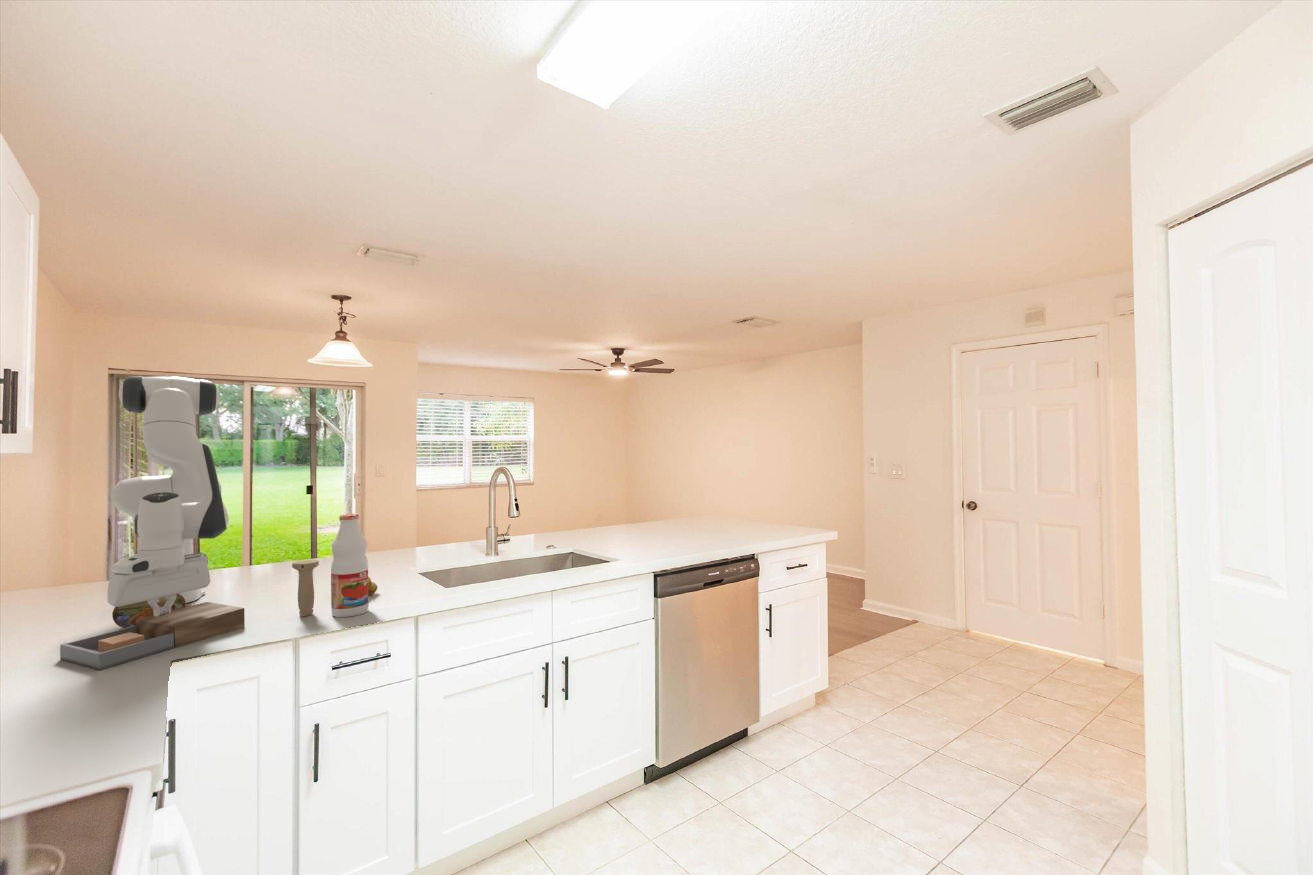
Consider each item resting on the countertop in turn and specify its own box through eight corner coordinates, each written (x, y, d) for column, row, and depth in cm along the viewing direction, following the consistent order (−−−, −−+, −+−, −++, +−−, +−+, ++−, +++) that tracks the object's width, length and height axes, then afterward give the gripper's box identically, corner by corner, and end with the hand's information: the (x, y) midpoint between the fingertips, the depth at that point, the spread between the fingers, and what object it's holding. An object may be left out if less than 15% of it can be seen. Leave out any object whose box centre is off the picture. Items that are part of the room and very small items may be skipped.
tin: (112, 631, 151) (111, 599, 151) (116, 627, 154) (116, 596, 154) (184, 622, 158) (184, 591, 158) (187, 618, 161) (187, 588, 161)
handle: (315, 616, 161) (315, 563, 161) (290, 618, 160) (289, 564, 160) (321, 611, 166) (321, 559, 166) (296, 613, 165) (296, 560, 164)
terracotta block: (129, 632, 139) (130, 644, 139) (98, 640, 133) (98, 653, 134) (144, 635, 137) (144, 647, 137) (112, 643, 131) (112, 656, 131)
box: (60, 659, 131) (60, 644, 131) (135, 639, 144) (134, 625, 144) (99, 670, 125) (99, 654, 125) (173, 648, 138) (173, 633, 138)
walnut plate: (136, 639, 144) (136, 619, 144) (206, 619, 159) (206, 601, 159) (175, 647, 138) (174, 626, 138) (244, 626, 153) (244, 607, 153)
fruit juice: (352, 606, 171) (351, 512, 171) (376, 609, 167) (374, 513, 167) (323, 615, 162) (322, 516, 162) (348, 619, 159) (346, 517, 158)
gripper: (200, 550, 154) (201, 601, 154) (102, 566, 135) (103, 625, 135) (215, 551, 151) (216, 604, 151) (118, 568, 132) (119, 628, 132)
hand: (162, 614), depth 143 cm, fingers closed
